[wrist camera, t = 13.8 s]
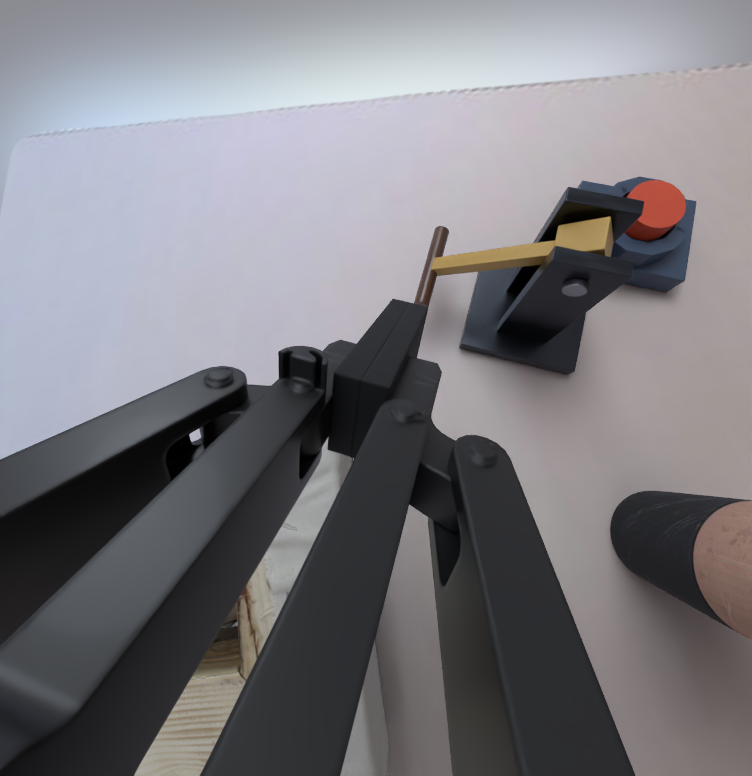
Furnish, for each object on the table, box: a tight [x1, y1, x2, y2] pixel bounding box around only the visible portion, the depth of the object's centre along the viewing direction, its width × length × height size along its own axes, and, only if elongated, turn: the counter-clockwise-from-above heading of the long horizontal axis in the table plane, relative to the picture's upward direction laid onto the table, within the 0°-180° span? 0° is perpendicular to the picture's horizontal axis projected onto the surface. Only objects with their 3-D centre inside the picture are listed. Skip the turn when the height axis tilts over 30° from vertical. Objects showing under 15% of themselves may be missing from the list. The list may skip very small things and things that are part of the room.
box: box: [134, 438, 389, 776], centre depth 26 cm, size 23×8×32 cm
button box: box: [577, 177, 696, 292], centre depth 31 cm, size 10×8×4 cm
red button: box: [625, 180, 686, 241], centre depth 29 cm, size 4×4×2 cm
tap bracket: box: [459, 187, 644, 375], centre depth 26 cm, size 10×9×13 cm
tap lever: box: [414, 217, 614, 307], centre depth 25 cm, size 13×7×2 cm
